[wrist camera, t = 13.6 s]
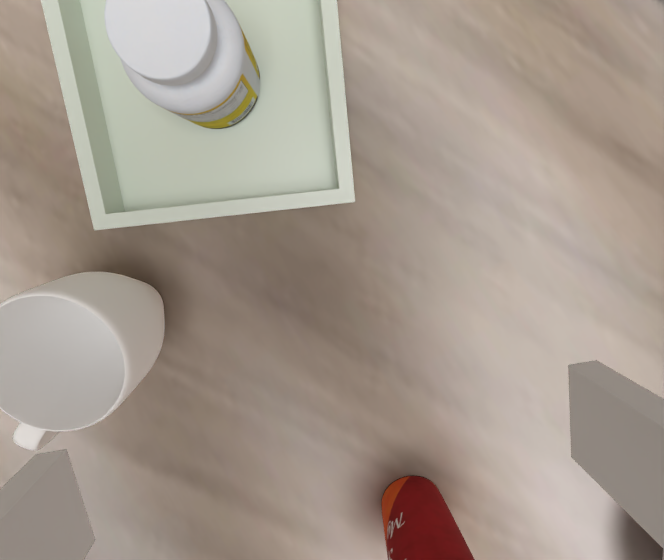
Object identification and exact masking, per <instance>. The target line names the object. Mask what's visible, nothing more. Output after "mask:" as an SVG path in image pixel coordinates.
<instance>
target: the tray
mask: <svg viewBox="0 0 664 560" xmlns="http://www.w3.org/2000/svg"><path fill="white" fill-rule="evenodd" d="M225 2H226V3H227V4H228V5H229V7H230V8H231V10H232V11H233V13H234V15H235V16H236V18H237V20H238V22H239V24H240V27H241V29H242V31H243V33H244V35H245V37H246V39H247V41H248V43H249V46H250V48H251V50H252V53H253V55H254V57H255V59H256V62H257V65H258V68H259V73H260V92H259V97H258V100H257V102H256V104H255V107H254V108H253V110H252V111H251V113H250V114H249V115H248V116H247V117H246V118H245V119H244V120H243V121H241V122H240V123H238V124H236V125H234V126H232V127H228V128H224V129H210V128H205V127H202V126H199V125H197V124H194V123H192V122H190V121H188V120H186V119H184V118H182V117H180V116H178V115H176V114H174V113H172V112H170V111H168V110H166V109H164V108H162V107H160V106H158V105H156V104H155V103H153V102H151V101H150V100H149V99H147V98H146V97H145V96H144V95H143V94H142V93H141V92H140V91H139V90H138V89H137V88H136V87H135V86H134V84H133V83H132V82H131V80H130V79H129V77H128V75H127V74H126V72H125V70H124V67H123V65H122V62H121V59H120V57H119V56H118V55H117V53H116V52H115V50H114V49H113V47H112V45H111V43H110V41H109V38H108V35H107V32H106V26H105V19H104V11H105V4H106V0H41V3H42V7H43V11H44V16H45V20H46V24H47V29H48V33H49V37H50V42H51V46H52V50H53V55H54V59H55V63H56V68H57V72H58V76H59V81H60V85H61V89H62V93H63V98H64V102H65V106H66V111H67V115H68V119H69V124H70V128H71V132H72V137H73V141H74V145H75V150H76V154H77V158H78V163H79V167H80V171H81V175H82V180H83V184H84V188H85V193H86V197H87V201H88V206H89V210H90V214H91V219H92V223H93V227H94V230H102V229H111V228H121V227H130V226H139V225H148V224H157V223H167V222H176V221H185V220H194V219H203V218H213V217H222V216H231V215H240V214H249V213H259V212H268V211H277V210H286V209H295V208H304V207H314V206H323V205H332V204H341V203H350V202H355V194H354V183H353V172H352V161H351V150H350V139H349V129H348V118H347V107H346V96H345V85H344V74H343V63H342V52H341V41H340V30H339V19H338V8H337V0H225Z"/></svg>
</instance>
